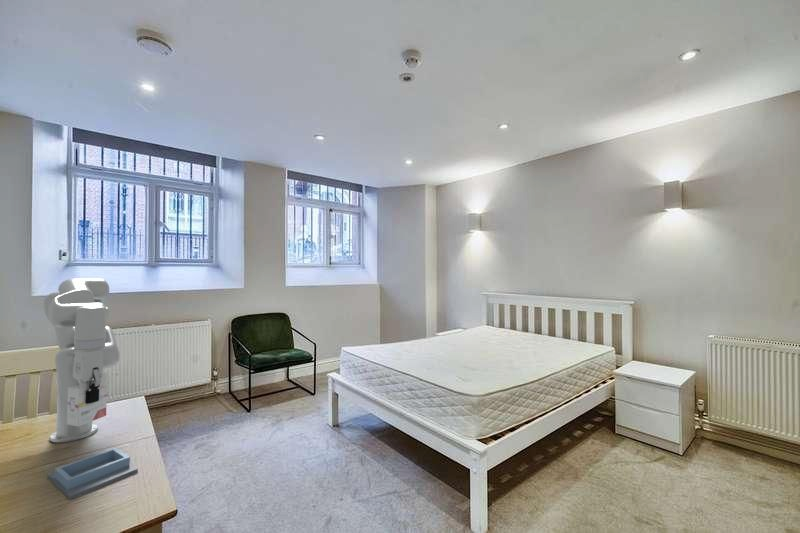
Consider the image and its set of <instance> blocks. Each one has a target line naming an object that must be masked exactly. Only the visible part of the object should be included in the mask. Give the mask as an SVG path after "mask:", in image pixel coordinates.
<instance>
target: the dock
mask: <svg viewBox="0 0 800 533" xmlns="http://www.w3.org/2000/svg"><path fill="white" fill-rule="evenodd" d="M130 460H131V456H129V455H128V454H127V453H124V451H122V450H120V449H118V448H117V447H113V448H111V449H108V450H105V451H101V452H99V453H96V454H94V455H90V456H88V457H84V458H82V459H79V460H76V461H73V462H71V463H68V464H65V465H61V466H59V467H56V468H54V471H52V472H50V473H47V474H46V475H47V479H48V480H49V481H51V483H52V484H53V485H54V486H56V488H57V489H59V491H60V492H62V493H63V495H65V497H66V498H68V499H69V501H70V500H73V499H76V498H78V497H81V496H83V495H87V494H88V493H90V492H93V491H96V490H99V489H100V488H102V487H105V486H108V485H110V484H113V483H115V482H117V481H119V480H122V479H123V478H126V477H129V476H132V475H133V474H137V473H138V472H139V471H138V467H136V466H135V465H133V464H131V461H130Z"/></svg>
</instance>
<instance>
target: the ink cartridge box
mask: <svg viewBox="0 0 800 533" xmlns="http://www.w3.org/2000/svg"><path fill="white" fill-rule="evenodd" d="M107 377H108V375H107V372H103V376H102V378H101V382H100V389H99V401H97V402H93V403H89V404H86V403H85V402H86V391H88V390H87V381H86V383H82V382H81V379H80V380H79V385H76V386H73V387H69V388H68V405H67V425H73V426H81V425H84V424H86V423H89V422H91V421H92V422H93V421H96V420H99V419H101V418H103V417H105V416H107V402H108V378H107ZM90 380H94V378H92V379H90ZM92 383H94V382H92ZM92 383H90V385H92Z"/></svg>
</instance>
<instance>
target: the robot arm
mask: <svg viewBox="0 0 800 533" xmlns="http://www.w3.org/2000/svg"><path fill="white" fill-rule="evenodd" d="M109 295H110V285H109V283H108V282H107V280H105V279H103V278H99V277H97V278H92V277H91V278H80V277H79V278H78V277H77V278H69V279H65V280H64V281H62V282H61V283H60V284H59V285H58V290H57V291H55V292H51V293H49V294H47V295H46V296H45V298H44V301H43V310H44V315H45V316H46V318H47V320H48V321H49V322H50V324H51V325H52V326H53V328H54V331H55V336H56V342H57V346H58V348H59V351H58V352H57V353H56V355H55V358H54V363H55V364H54V365H55V371H56V376H57V396H56V398H57V399H56V400H57V402H56V427H55V428H56V430H55V431H54V432H53V433H51V434H50V436H49V441H50V442H53V443H68V442H73V441H79V440H81V439H84V438H86V437H89V436H92V435H93V434H95V433H96V432H97V431H99V430H98V429H99V426H98V425H97V424H95V423H93V421H91V422H89V423H86V424H84V425H81V426H73V425H67V405H68V388H69V387H73V386H76V385H79V380H80V379H81V382H82V383H86V381H87V390H88V391H86V402H85V403H86V404H89V403H93V402H97V401H99V389H100V382H101V378H102V376H103V373H104V369H105V370H106V369H111V368H113V367H115V366H116V365H117V364H118V363H119V361H120V350H119V346H118V343H117V340H116V337H115V334H114V330H113V329H112V328H111V327H110V326H109V325H107V319H108V318H109V308H108V306H107V305H106V304H105V302H106V301H107V299H108V298H109ZM92 378H93V379H92ZM90 379H92V380H90ZM92 382H94V383H92ZM90 383H92V385H90Z"/></svg>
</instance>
